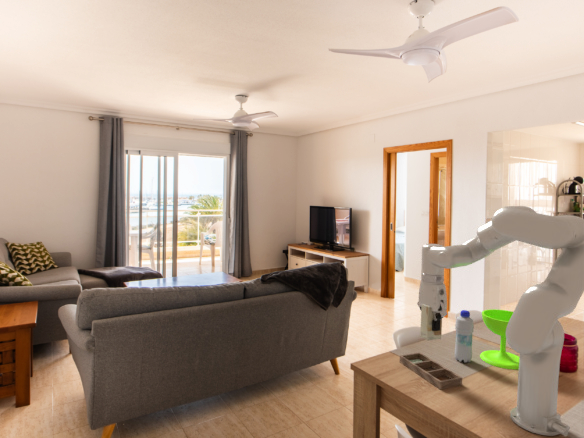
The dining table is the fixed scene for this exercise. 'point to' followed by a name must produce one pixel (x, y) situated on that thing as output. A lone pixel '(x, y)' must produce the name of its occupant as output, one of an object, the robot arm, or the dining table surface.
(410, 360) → the mat
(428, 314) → the skincare box
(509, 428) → the dining table surface
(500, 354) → the wineglass
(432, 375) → the notch rack
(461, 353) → the bottle
